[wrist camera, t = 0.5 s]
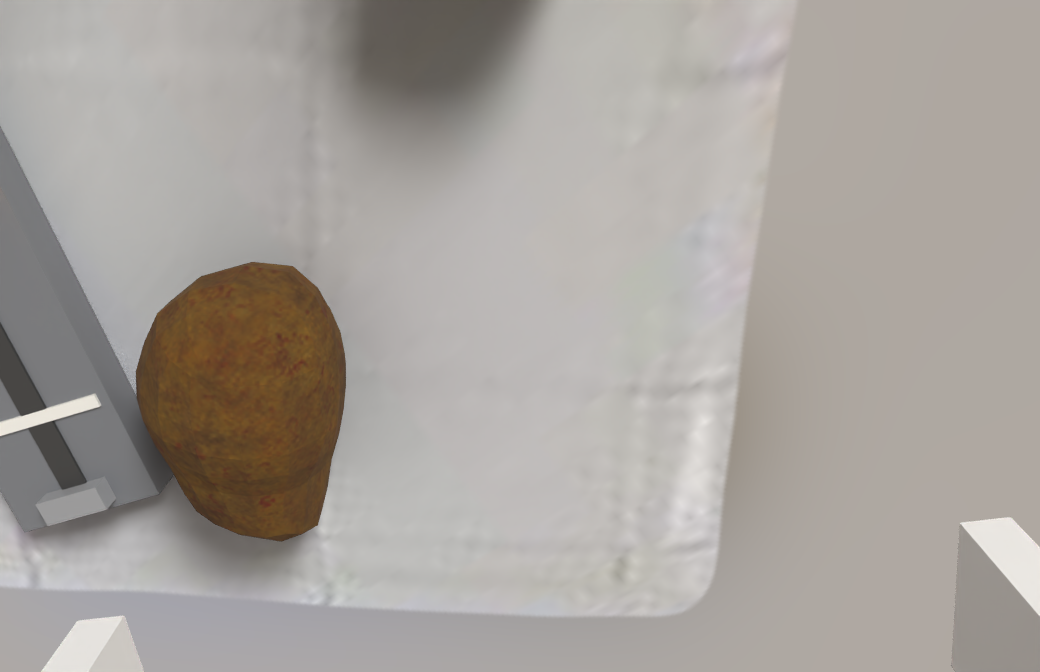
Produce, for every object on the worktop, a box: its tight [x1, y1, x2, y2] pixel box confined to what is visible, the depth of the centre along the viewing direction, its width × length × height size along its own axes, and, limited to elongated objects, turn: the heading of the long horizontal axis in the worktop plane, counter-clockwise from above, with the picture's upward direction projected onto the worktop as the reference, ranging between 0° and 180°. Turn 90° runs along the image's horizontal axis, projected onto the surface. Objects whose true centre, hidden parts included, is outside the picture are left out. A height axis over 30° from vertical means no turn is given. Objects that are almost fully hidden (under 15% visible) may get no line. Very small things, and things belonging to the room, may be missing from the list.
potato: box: [136, 262, 346, 541], centre depth 37 cm, size 8×12×9 cm
